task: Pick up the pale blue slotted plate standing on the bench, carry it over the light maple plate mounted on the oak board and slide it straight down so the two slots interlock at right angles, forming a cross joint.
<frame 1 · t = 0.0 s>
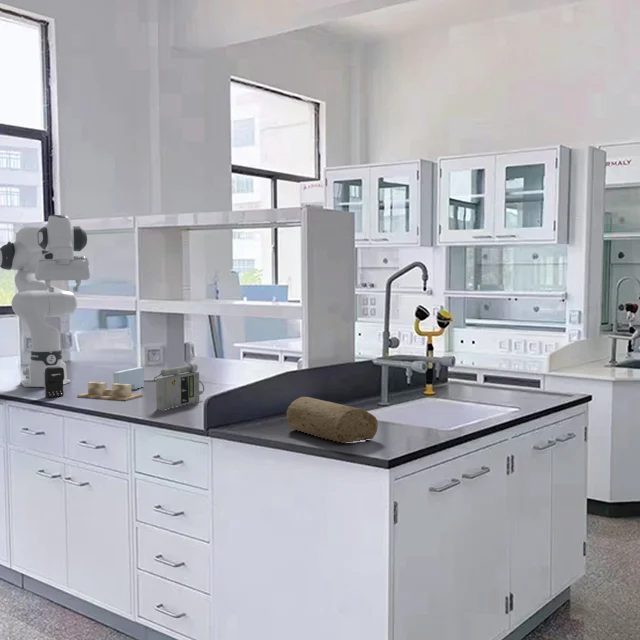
hand: (63, 292, 287), 39 cm above the countertop, tool pointing down, fingers open, 8 cm apart
battery: (55, 397, 279), on the countertop
geiger counter: (182, 405, 263), on the countertop
blue plate: (129, 390, 294), on the countertop
joint jig: (109, 396, 279), on the countertop
core sample: (329, 437, 213), on the countertop
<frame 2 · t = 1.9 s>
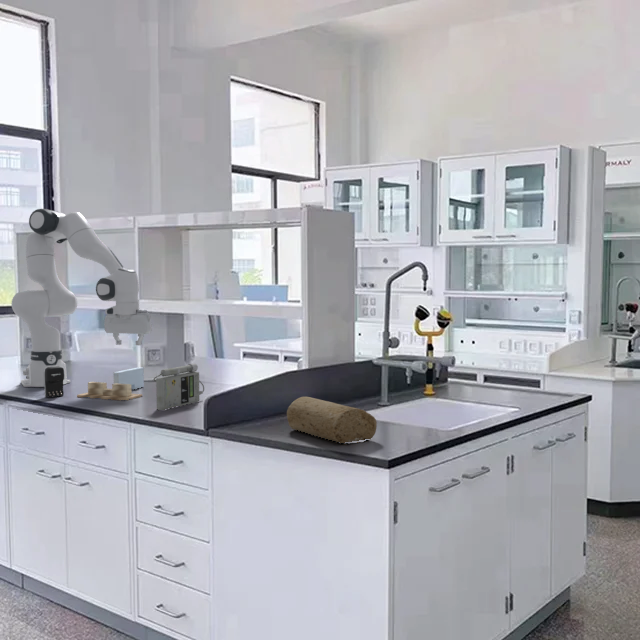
hand: (128, 345, 293), 18 cm above the countertop, tool pointing down, fingers open, 8 cm apart
nothing on the countertop moved.
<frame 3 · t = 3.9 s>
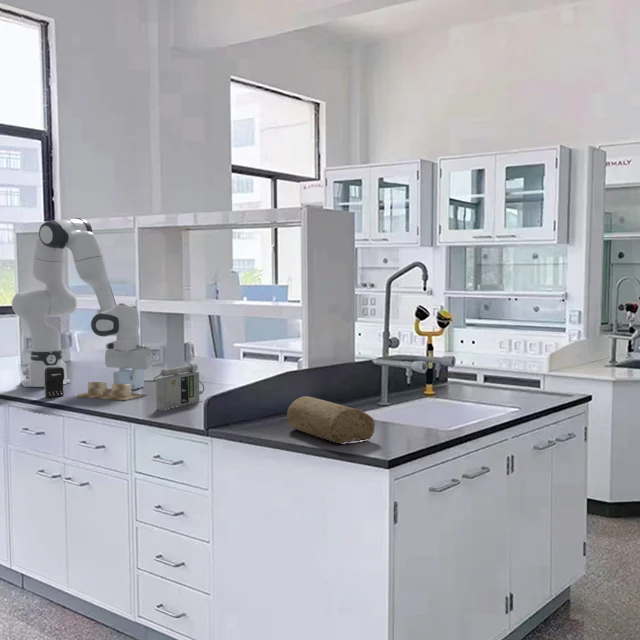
hand: (129, 379, 294), 4 cm above the countertop, tool pointing down, fingers closed on blue plate, 2 cm apart
blue plate: (129, 390, 294), on the countertop, touching gripper
everything else where it was.
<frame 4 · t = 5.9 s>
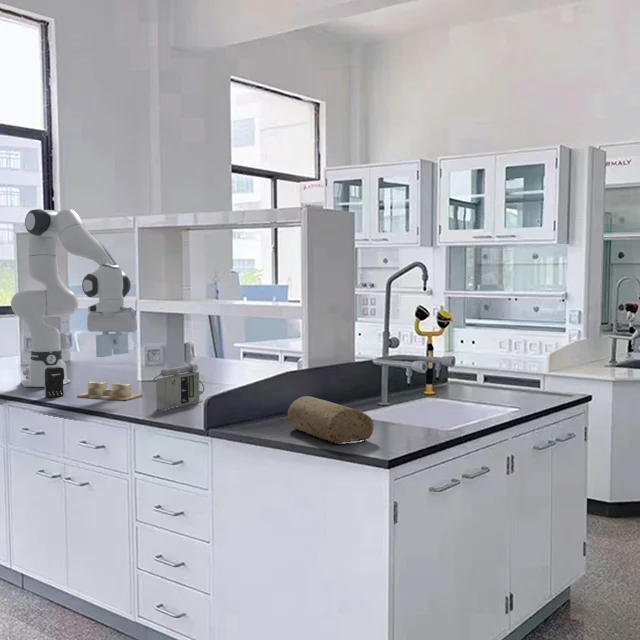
hand: (112, 344, 280), 20 cm above the countertop, tool pointing down, fingers closed on blue plate, 2 cm apart
blue plate: (112, 354, 280), point 15 cm above the countertop, touching gripper
everything else where it was.
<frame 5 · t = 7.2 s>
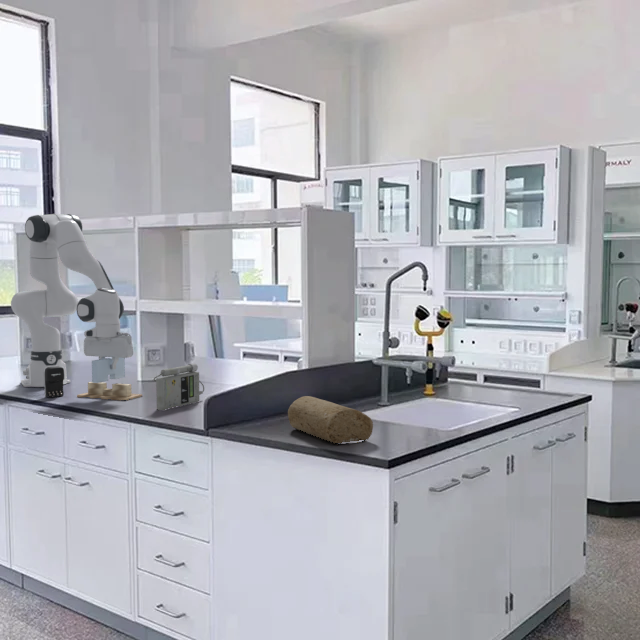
hand: (108, 368, 278), 10 cm above the countertop, tool pointing down, fingers closed on blue plate, 2 cm apart
blue plate: (109, 379, 278), point 6 cm above the countertop, touching gripper
when the fingers open (7 cm above the countertop, at t = 8.2 s): blue plate drops 2 cm, resting on joint jig.
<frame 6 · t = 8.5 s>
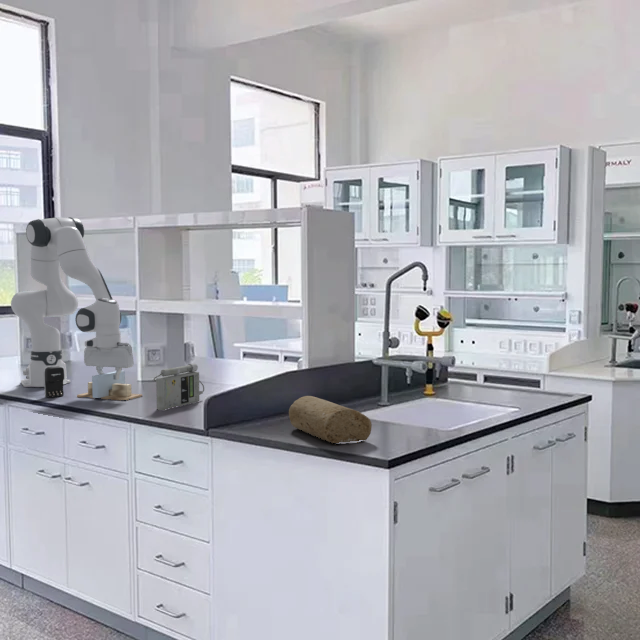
hand: (109, 378, 278), 7 cm above the countertop, tool pointing down, fingers open, 5 cm apart
blue plate: (109, 394, 279), point 1 cm above the countertop, touching joint jig
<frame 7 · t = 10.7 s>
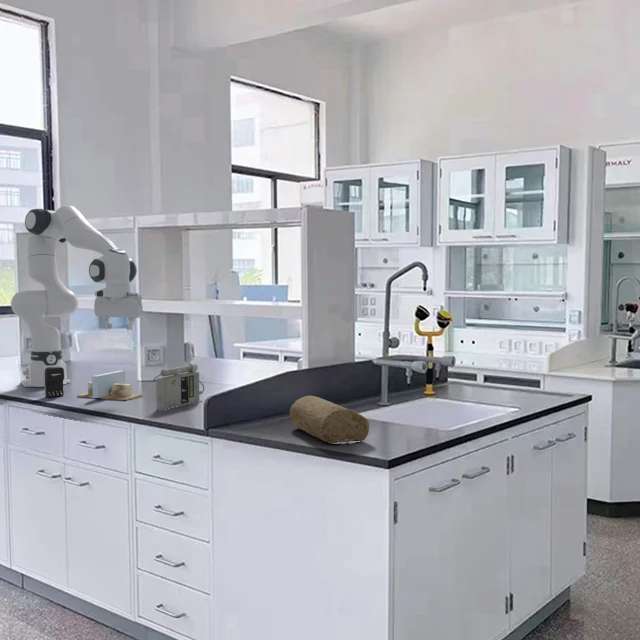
hand: (118, 329, 282), 25 cm above the countertop, tool pointing down, fingers open, 8 cm apart
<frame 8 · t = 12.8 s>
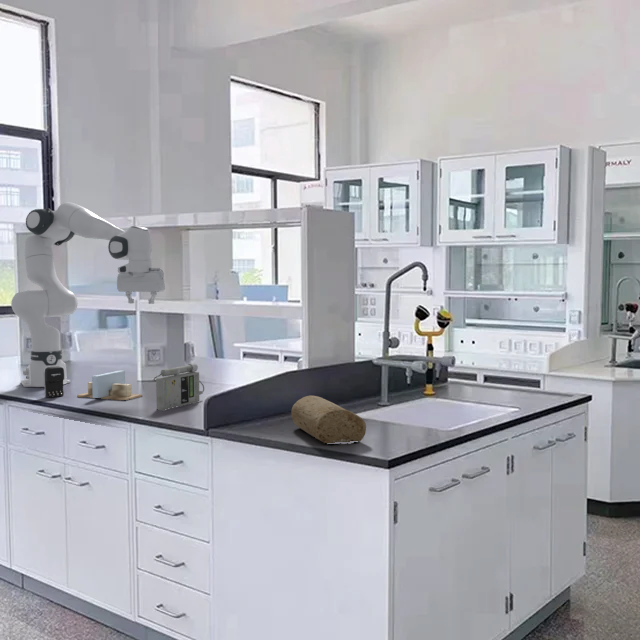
hand: (141, 303, 291), 34 cm above the countertop, tool pointing down, fingers open, 8 cm apart
at the end: blue plate 0.1 cm from the joint jig (horizontally); blue plate point 0.8 cm above the countertop; blue plate tilted 0° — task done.
